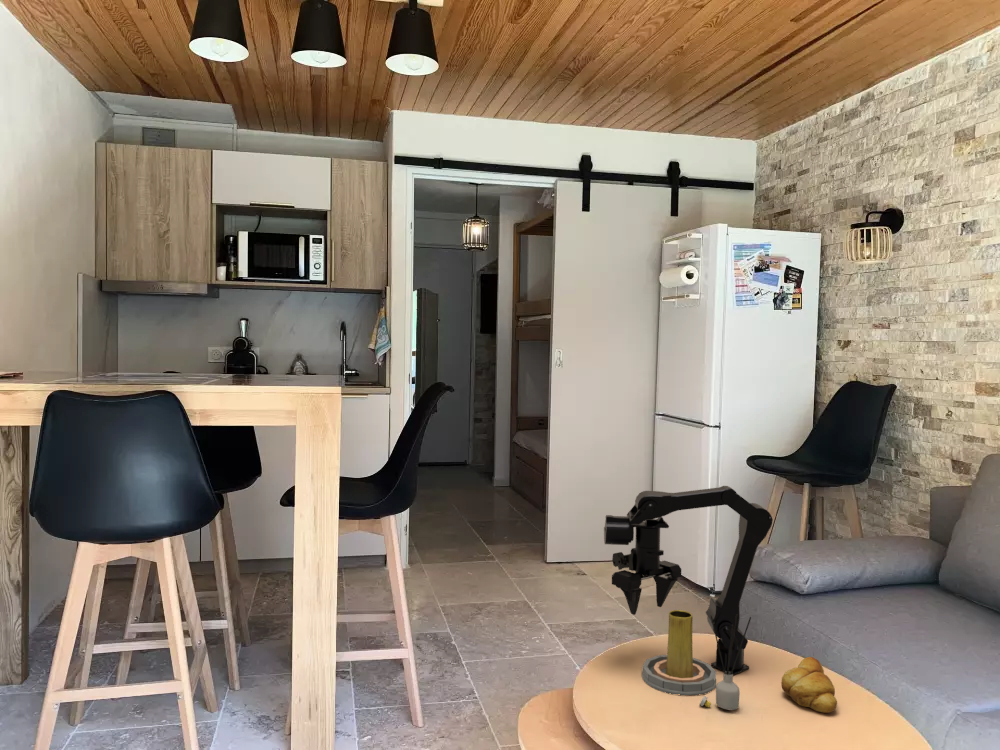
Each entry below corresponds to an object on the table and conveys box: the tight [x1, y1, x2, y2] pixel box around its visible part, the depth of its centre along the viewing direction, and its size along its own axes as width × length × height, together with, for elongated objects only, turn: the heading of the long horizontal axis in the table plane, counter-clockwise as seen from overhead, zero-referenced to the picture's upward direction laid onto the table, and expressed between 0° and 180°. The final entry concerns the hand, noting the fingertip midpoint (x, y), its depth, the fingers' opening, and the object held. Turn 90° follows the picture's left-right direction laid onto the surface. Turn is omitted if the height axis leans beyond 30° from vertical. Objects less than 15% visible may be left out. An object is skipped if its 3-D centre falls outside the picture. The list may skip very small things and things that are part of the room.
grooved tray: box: [641, 654, 717, 696], centre depth 169 cm, size 16×16×2 cm
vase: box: [666, 609, 694, 678], centre depth 168 cm, size 6×6×14 cm
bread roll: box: [780, 656, 838, 714], centre depth 158 cm, size 13×10×8 cm
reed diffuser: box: [699, 614, 752, 711], centre depth 154 cm, size 10×7×20 cm
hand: (646, 610), depth 176 cm, fingers open, 9 cm apart
